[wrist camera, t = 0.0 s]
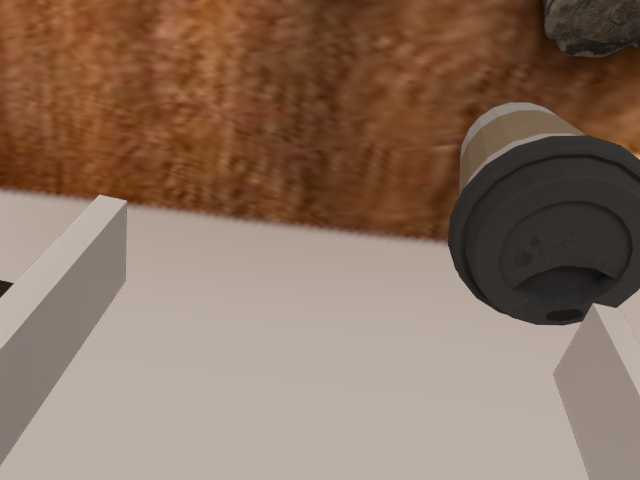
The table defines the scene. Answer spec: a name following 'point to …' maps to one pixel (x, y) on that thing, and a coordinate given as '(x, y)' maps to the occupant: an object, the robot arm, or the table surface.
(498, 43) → the table surface
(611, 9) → the grey rock
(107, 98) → the table surface
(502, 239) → the coffee cup
